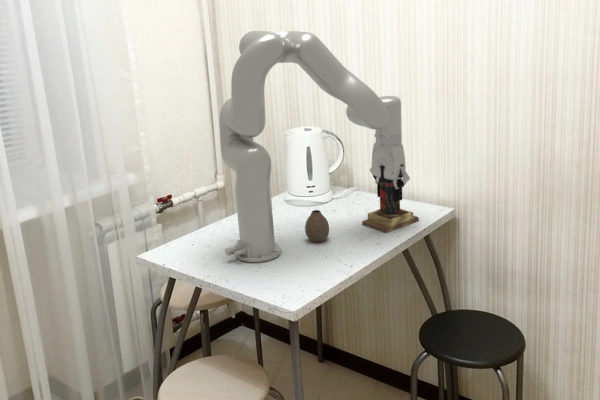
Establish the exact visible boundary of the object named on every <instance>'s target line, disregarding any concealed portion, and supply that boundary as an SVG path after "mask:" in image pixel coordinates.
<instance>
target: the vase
mask: <svg viewBox="0 0 600 400" xmlns="http://www.w3.org/2000/svg"><path fill="white" fill-rule="evenodd" d="M304 232H305V235H306V238H307V239H308V240H309V241H310V242H312V243H322V242H324V241H325V240H326V239H327V238H328V236H329V233H330V224H329V221H328V220H327V218H326V217H325V216H324V215H323V214H322V211H321V210H319V209H313V210H312V211H311V212H310V215H309V216H308V217H307V219H306V221H305V224H304Z"/></svg>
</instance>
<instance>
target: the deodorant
mask: <svg viewBox="0 0 600 400" xmlns="http://www.w3.org/2000/svg"><path fill="white" fill-rule="evenodd" d="M380 168H381V169H380V170H381V177H379V182H380V197H379V208H380V212H381V213H382V214H385V215H394V214H398V213H400V209H401V200H400V201H397V202H394V201H393V189H395V187H394V184H393V180H388V179H386V178H384V171H385V170H384V169H385V167H384V166H382V165H381V166H380ZM397 183H399V181H398V180H397Z"/></svg>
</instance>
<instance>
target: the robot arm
mask: <svg viewBox="0 0 600 400" xmlns="http://www.w3.org/2000/svg"><path fill="white" fill-rule="evenodd" d="M238 51H239V53H240V55H239V57H238V59H237V60H236V62H235V64H234V66H233V69H232V73H231V80H230V81H231V82H230V83H231V85H230V86H231V87H230V88H231V89H230V90H231V91H230V92H231V94H230V97H231V98H229V99H227V100H226V101H225V102H224V103H223V104H222V106H221V108H220V112H219V123H218V124H219V138H220V139H219V141H220V142H219V143H220V154H221V158H222V161H223V163H224V164H225V165H226V166H227V167H228V168H229V169H230V170H232V171H233V172H234V173H235V177H236V178H235V187H234V192H235V204H236V212H237V223H238V224H237V225H238V234H239V239H237V240H236V244H234V246H230V247H228V248H226V249H224V253H225V255H226V256H227V257H228V256H229V257H230V256H232V255H234V256H235V257H236V259H238V260H240V261H242V262H247V263H263V262H268V261H271V260H273V259H276V258H278V257H279V256H280V255H281V253H282V248H281V246H280V244H277V243H276V241H275V229H274V228H275V227H274V226H275V225H274V217H273V216H274V215H273V203H272V191H271V176H272V159H271V156H270V154H269V151H267V149H266V148H265V147H264V146H263V145H261V144H259V143H258V142H256V141H254V138H255V137H258V136H260V135H261V134H262V133H263V131H264V129H265V127H266V106H265V105H266V104H265V103H266V101H265V83H266V80H267V79H266V78H267V76H268V74H269V72H270V71H271V69H272V68H273V67H275V65H277V64H281V63H282V64H285V63H293V64H297V65H298V66H299V67H300V68H301V69H302V70H303V71H304V72H305V73H306V74H307V75H308V76H309V77H310V79H311V80H313V82H314V83H315V84H316V85H317V86H318V87H319V88H320V89H321V90H322V91H323V92H324V93H326V94H328V95H329V96H331V97H333V98H335V99H337V100H339V101H340V102H342V103H343V104H346V105H347V106H346V111H345V112H346V113H345V115H346V117H347V119H348V120H349V121H350V122H351V123H352V124H354V125H357V126H359V127H360V126H361V127H365V128H367V129H370V130H375V133H374V138H375V142H374V143H373V147H372V152H371V153H372V154H371V167H370V168H369V172H370V173H371V174H372V177H373V179H374V180H375V181H374V183H375V185H376V191H377V194H376V195H377V196H376V197H377V198H380V182H379V177H381V170H380V169H381V168H380V166H381V165H382V166H384V167H385V169H384V170H385V171H384V178H386V179H388V180H393V184H394V187H395V189H393V201H394V202H397V201H400V202H401V201H402V200H403V188H405V185H406V184H407V182H409V181H410V180H411V177H410V176H409V174H408V173H407V172H408V171H406V170H407V169H406V157H405V149H404V145H403V143H402V138H403V137H402V101H401V99H400V97H398V96H396V95H384V96H378V94H377V93H376V92H375V91H374V90H373V89H372V88H370V87H369V86H368V85H367V84H366V83H365V82H364V81H362V80H361V79H360V78H359V77H357V76H356V75H355V74H354V73H352V72H351V71H350V70H348V69H347V68H346V67H345V66H344V65H343V64H342V63H341V62H340V60H339V59H338V58H337V57H336V56H335V55H334V54H333V52H332V51H331V50H330V49H329V48H328V47H327V46H326V45H325V44H324V43H323V41H322V40H321V39H320V38H319V37H318V36H317V35H315V34H314V33H312V32H309V31H308V32H307V31H299V30H296V31H295V30H292V31H291V30H290V31H289V30H288V31H287V30H285V31H281V30H279V31H273V30H270V31H269V30H268V31H267V30H251V31H248V32H247V33H245V34H244V35H243V36H242V37H241V39H240V41H239V44H238ZM397 180H398V181H399V183H397Z"/></svg>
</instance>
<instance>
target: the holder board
mask: <svg viewBox="0 0 600 400" xmlns="http://www.w3.org/2000/svg"><path fill="white" fill-rule="evenodd" d="M416 221H417V222H419V221H420V220H419V216H416V215H414V212H413V211H409V210H405V209H403V208H400V213H398V214H394V215H385V214H382V213H381V212H380V209H376V210H373V211H370V212H367V219H363V220H362V221H361V225H362V226H364V227H367V228H370V229H372V230H375V231H378V232H381V233H385V234H387V233H390V232H392V231H395V230H397V229H400V228H403V227H406V226H409V225H411V224H414V223H417V222H416Z"/></svg>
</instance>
